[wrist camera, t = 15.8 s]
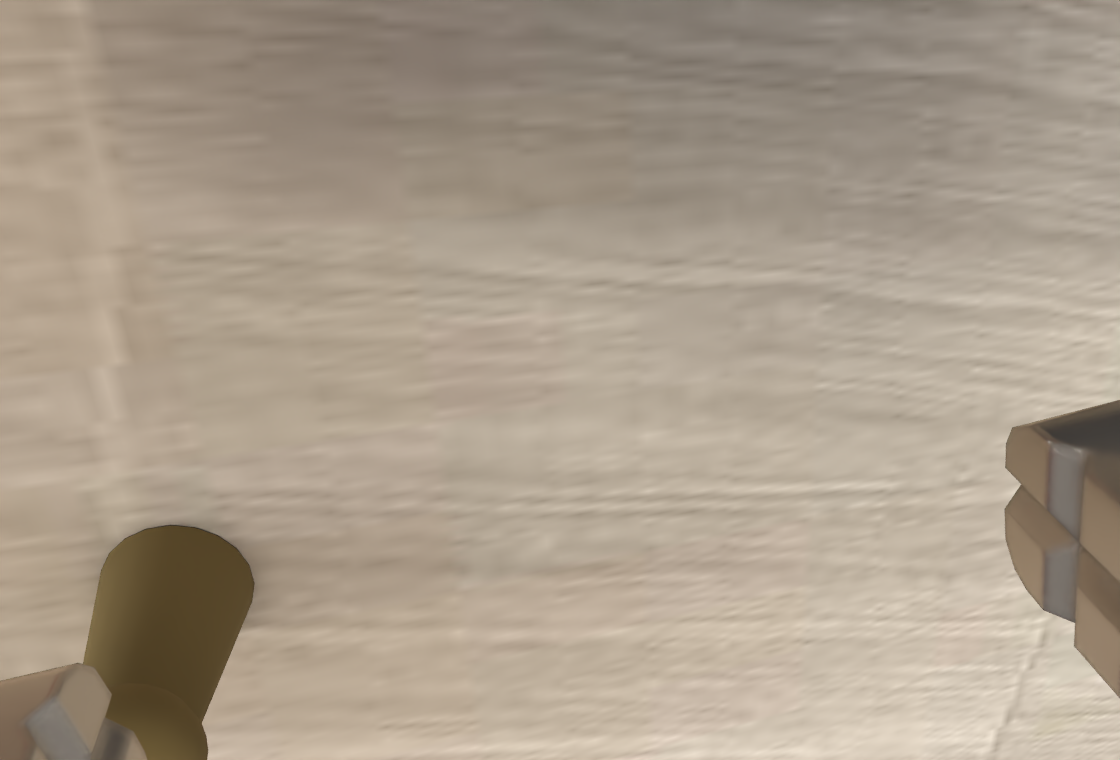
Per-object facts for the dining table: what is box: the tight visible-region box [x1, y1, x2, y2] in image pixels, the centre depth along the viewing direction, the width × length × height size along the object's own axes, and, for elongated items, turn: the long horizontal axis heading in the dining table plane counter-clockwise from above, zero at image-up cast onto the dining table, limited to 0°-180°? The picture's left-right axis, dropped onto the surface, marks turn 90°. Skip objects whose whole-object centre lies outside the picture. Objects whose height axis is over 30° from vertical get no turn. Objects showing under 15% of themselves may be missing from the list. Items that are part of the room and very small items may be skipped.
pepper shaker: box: [83, 525, 254, 760], centre depth 36 cm, size 6×6×11 cm
